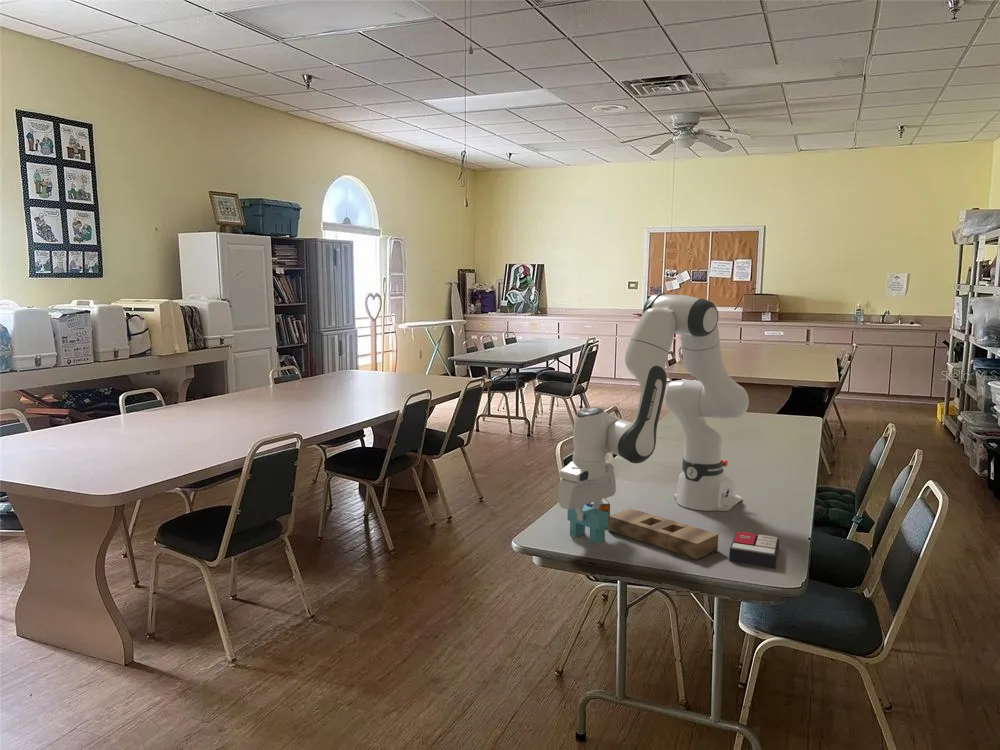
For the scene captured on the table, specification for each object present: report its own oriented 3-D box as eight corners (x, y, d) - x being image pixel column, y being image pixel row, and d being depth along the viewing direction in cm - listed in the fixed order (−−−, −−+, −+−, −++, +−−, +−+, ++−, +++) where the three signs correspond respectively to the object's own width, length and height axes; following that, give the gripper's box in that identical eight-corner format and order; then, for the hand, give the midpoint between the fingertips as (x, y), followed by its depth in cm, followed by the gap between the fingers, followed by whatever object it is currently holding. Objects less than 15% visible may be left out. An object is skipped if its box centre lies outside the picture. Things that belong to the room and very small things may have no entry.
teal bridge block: (567, 533, 198) (567, 506, 197) (576, 530, 201) (577, 503, 200) (598, 544, 190) (599, 515, 189) (607, 541, 193) (608, 512, 192)
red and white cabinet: (779, 535, 189) (776, 552, 175) (778, 551, 189) (775, 569, 175) (736, 529, 193) (729, 545, 180) (735, 545, 194) (728, 562, 180)
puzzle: (585, 517, 212) (585, 497, 211) (605, 517, 213) (605, 497, 212) (589, 524, 206) (590, 504, 205) (610, 523, 207) (610, 503, 206)
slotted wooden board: (608, 531, 200) (608, 516, 200) (630, 523, 207) (630, 508, 206) (696, 560, 180) (697, 543, 179) (717, 550, 187) (718, 534, 186)
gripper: (604, 459, 202) (602, 506, 204) (554, 472, 188) (554, 523, 190) (622, 463, 198) (620, 512, 199) (573, 477, 184) (571, 529, 186)
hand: (587, 517), depth 195 cm, fingers closed on teal bridge block, 4 cm apart
